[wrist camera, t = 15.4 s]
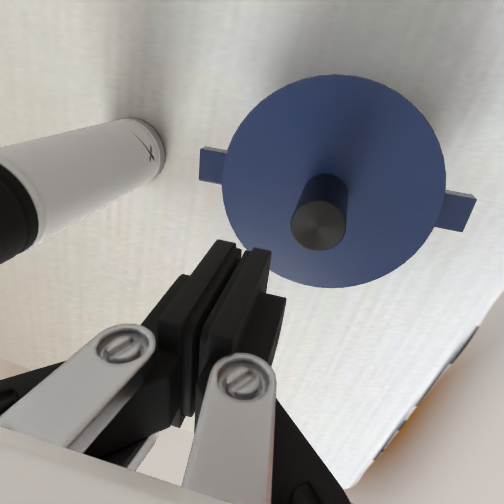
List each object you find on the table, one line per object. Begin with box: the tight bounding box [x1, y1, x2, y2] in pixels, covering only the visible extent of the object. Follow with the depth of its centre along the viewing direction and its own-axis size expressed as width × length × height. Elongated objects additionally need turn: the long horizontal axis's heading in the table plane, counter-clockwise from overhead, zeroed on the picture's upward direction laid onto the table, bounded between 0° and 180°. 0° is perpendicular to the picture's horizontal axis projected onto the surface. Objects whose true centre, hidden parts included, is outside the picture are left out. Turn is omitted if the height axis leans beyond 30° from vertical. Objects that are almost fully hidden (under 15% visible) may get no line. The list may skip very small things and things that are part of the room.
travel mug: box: [0, 118, 165, 264], centre depth 28 cm, size 6×7×20 cm
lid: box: [222, 74, 446, 288], centre depth 23 cm, size 15×15×7 cm
